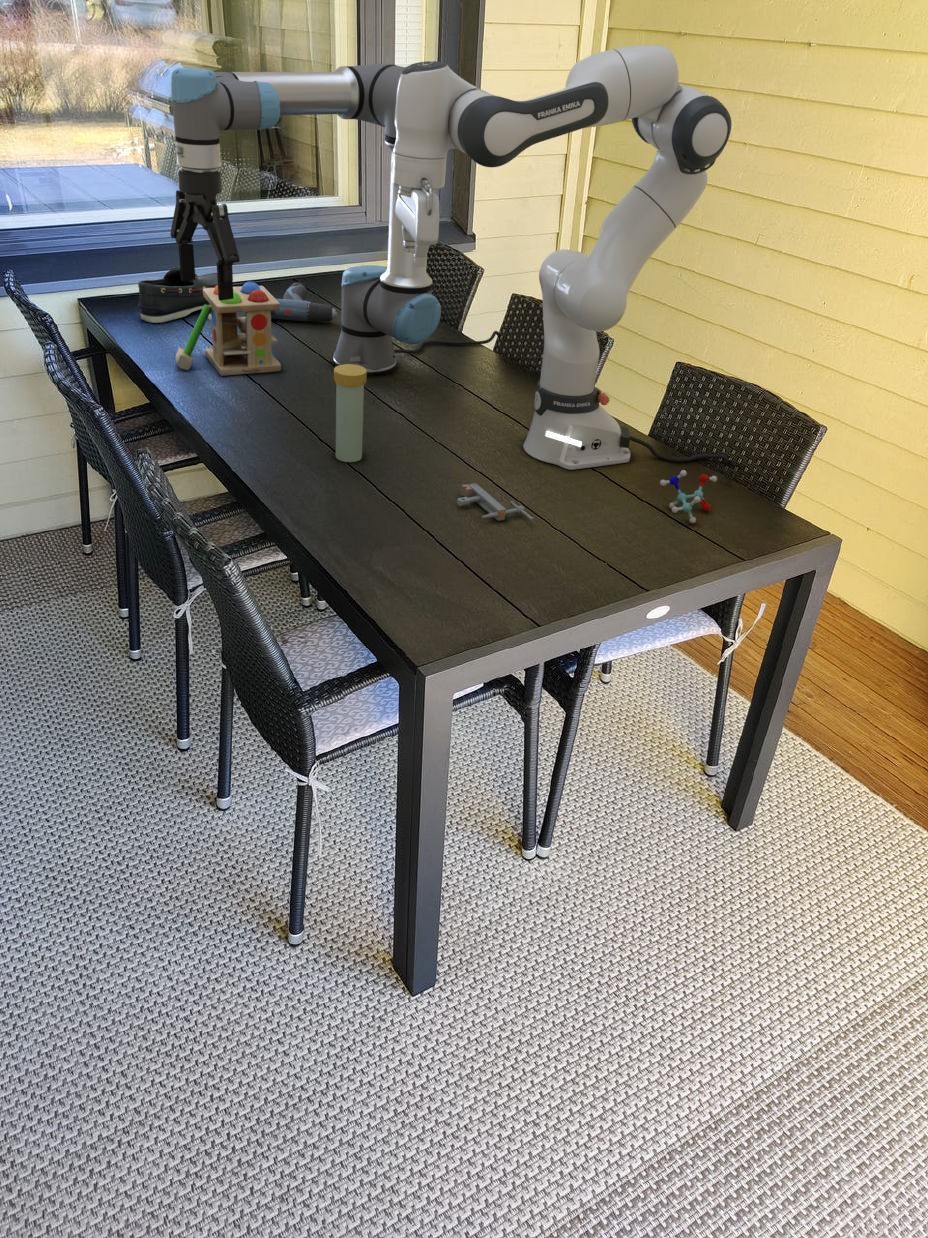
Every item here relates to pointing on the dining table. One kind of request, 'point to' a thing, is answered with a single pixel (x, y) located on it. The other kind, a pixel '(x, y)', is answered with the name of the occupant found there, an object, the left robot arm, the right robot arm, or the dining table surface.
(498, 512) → the clamp
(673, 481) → the molecular model
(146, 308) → the boat shoe
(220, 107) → the left robot arm
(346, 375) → the lid
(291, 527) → the dining table surface
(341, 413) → the jar
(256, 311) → the pounding bench toy
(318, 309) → the power drill
